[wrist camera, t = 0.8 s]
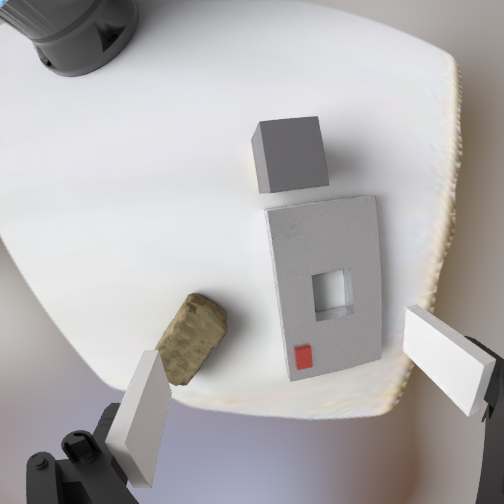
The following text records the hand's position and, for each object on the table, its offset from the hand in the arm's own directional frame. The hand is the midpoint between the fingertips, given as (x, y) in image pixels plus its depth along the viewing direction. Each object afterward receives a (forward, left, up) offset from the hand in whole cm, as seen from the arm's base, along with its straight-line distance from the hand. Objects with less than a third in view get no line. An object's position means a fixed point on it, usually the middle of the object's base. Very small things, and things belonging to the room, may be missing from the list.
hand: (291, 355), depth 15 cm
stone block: (+8, -10, -24) cm, 27 cm away
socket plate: (+5, +9, -23) cm, 25 cm away
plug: (-11, +4, -23) cm, 26 cm away
